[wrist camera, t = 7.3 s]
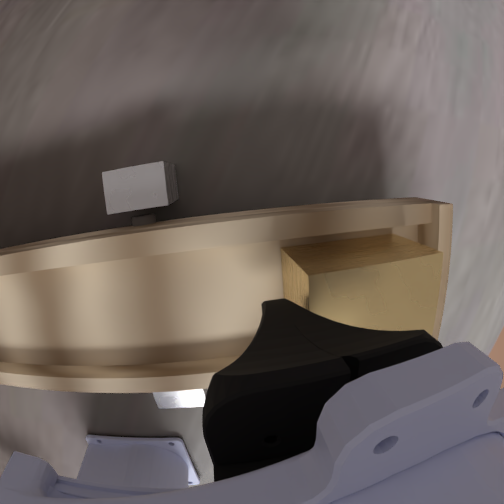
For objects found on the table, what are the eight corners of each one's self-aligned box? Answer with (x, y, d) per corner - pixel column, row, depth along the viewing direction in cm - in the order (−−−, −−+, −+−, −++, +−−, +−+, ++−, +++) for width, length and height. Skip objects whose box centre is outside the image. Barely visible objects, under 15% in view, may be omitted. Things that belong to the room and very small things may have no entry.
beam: (-9, 360, 15) (-33, 387, 11) (-45, 252, 13) (-79, 267, 9) (402, 321, 18) (435, 349, 14) (409, 189, 16) (452, 195, 12)
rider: (286, 342, 15) (309, 391, 11) (280, 247, 13) (308, 275, 10) (387, 320, 15) (427, 355, 12) (392, 233, 14) (443, 252, 10)
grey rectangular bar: (166, 371, 20) (158, 408, 16) (126, 172, 16) (101, 172, 12) (207, 368, 20) (207, 405, 16) (175, 164, 16) (163, 161, 12)
